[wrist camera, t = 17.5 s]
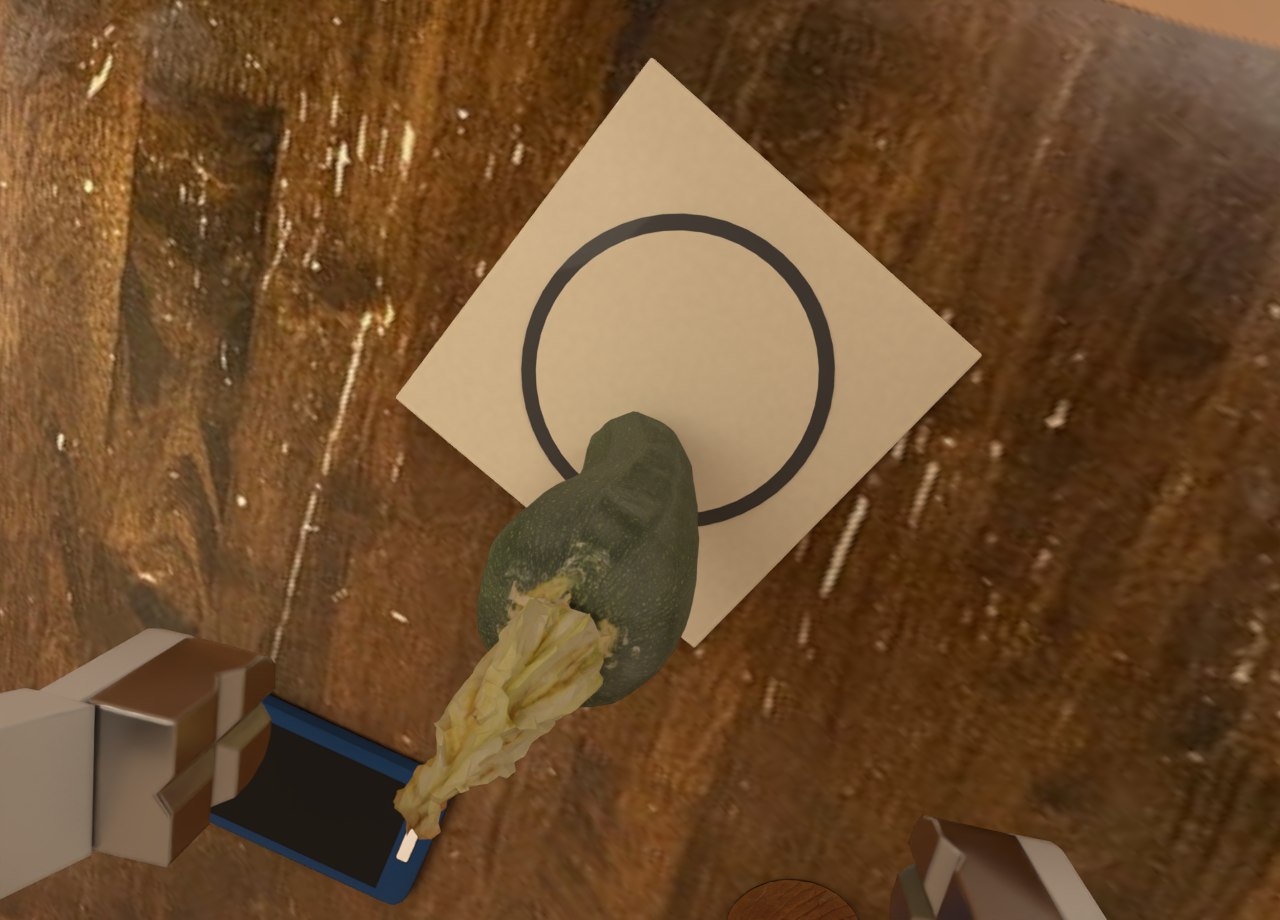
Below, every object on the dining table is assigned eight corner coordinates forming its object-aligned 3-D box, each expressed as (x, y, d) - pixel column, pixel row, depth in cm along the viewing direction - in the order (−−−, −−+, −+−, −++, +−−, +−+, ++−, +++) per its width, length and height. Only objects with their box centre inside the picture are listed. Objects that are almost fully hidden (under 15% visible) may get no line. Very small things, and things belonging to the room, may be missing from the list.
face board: (652, 61, 26) (650, 54, 25) (977, 354, 27) (984, 355, 26) (400, 396, 29) (392, 398, 29) (694, 642, 30) (694, 650, 30)
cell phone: (407, 898, 35) (401, 911, 34) (146, 779, 35) (134, 789, 34) (459, 780, 33) (453, 791, 32) (184, 654, 33) (172, 662, 32)
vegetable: (691, 387, 27) (638, 601, 8) (715, 494, 28) (720, 926, 9) (581, 412, 28) (280, 666, 9) (607, 516, 29) (387, 964, 9)
